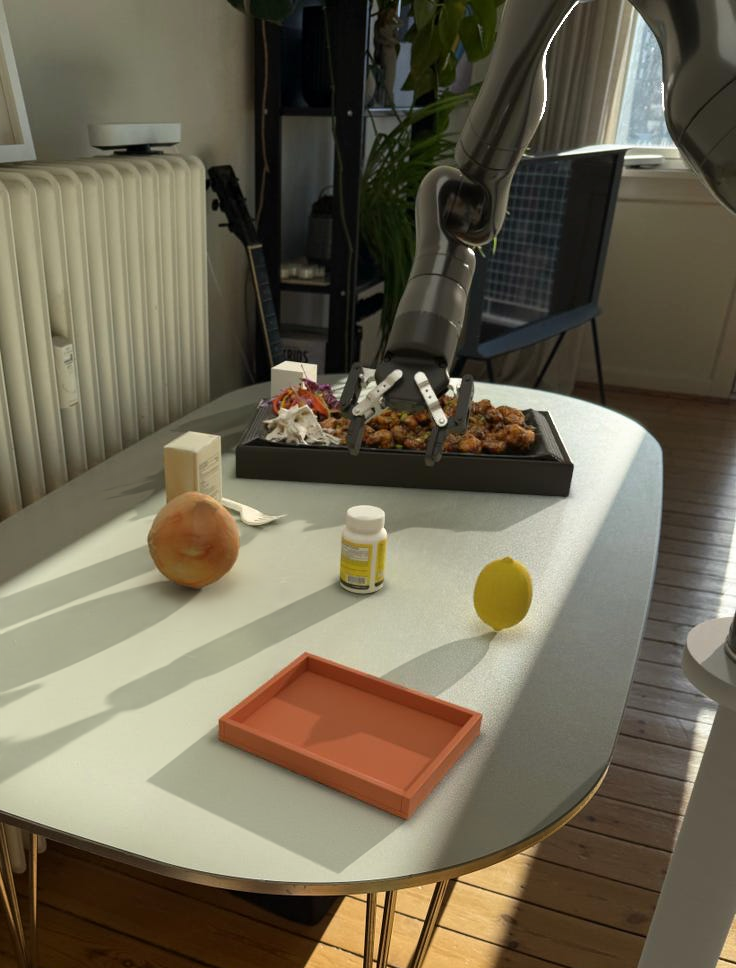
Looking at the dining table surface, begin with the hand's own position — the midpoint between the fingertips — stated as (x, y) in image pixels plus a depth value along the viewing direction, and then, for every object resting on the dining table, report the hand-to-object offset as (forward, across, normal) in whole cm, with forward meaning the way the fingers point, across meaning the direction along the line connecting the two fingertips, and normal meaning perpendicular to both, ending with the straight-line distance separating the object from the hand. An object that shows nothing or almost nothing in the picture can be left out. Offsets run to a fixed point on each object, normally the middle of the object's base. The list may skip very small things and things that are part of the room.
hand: (390, 457), depth 101 cm
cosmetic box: (+12, -22, +5) cm, 25 cm away
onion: (+19, -17, -2) cm, 25 cm away
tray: (+33, +8, -16) cm, 38 cm away
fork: (+4, -23, +13) cm, 26 cm away
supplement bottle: (+14, 0, +3) cm, 14 cm away
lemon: (+17, +15, 0) cm, 23 cm away
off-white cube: (-31, -33, +48) cm, 66 cm away
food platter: (-16, -8, +33) cm, 37 cm away
